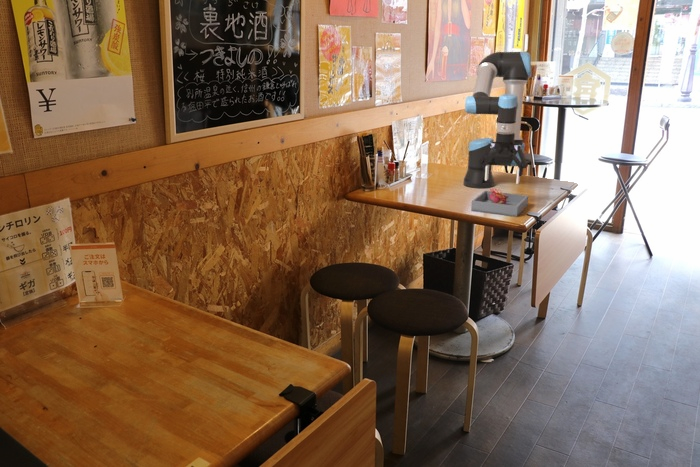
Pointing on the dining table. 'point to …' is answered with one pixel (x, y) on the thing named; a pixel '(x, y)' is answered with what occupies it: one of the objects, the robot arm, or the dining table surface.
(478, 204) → the bin
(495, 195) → the flower
